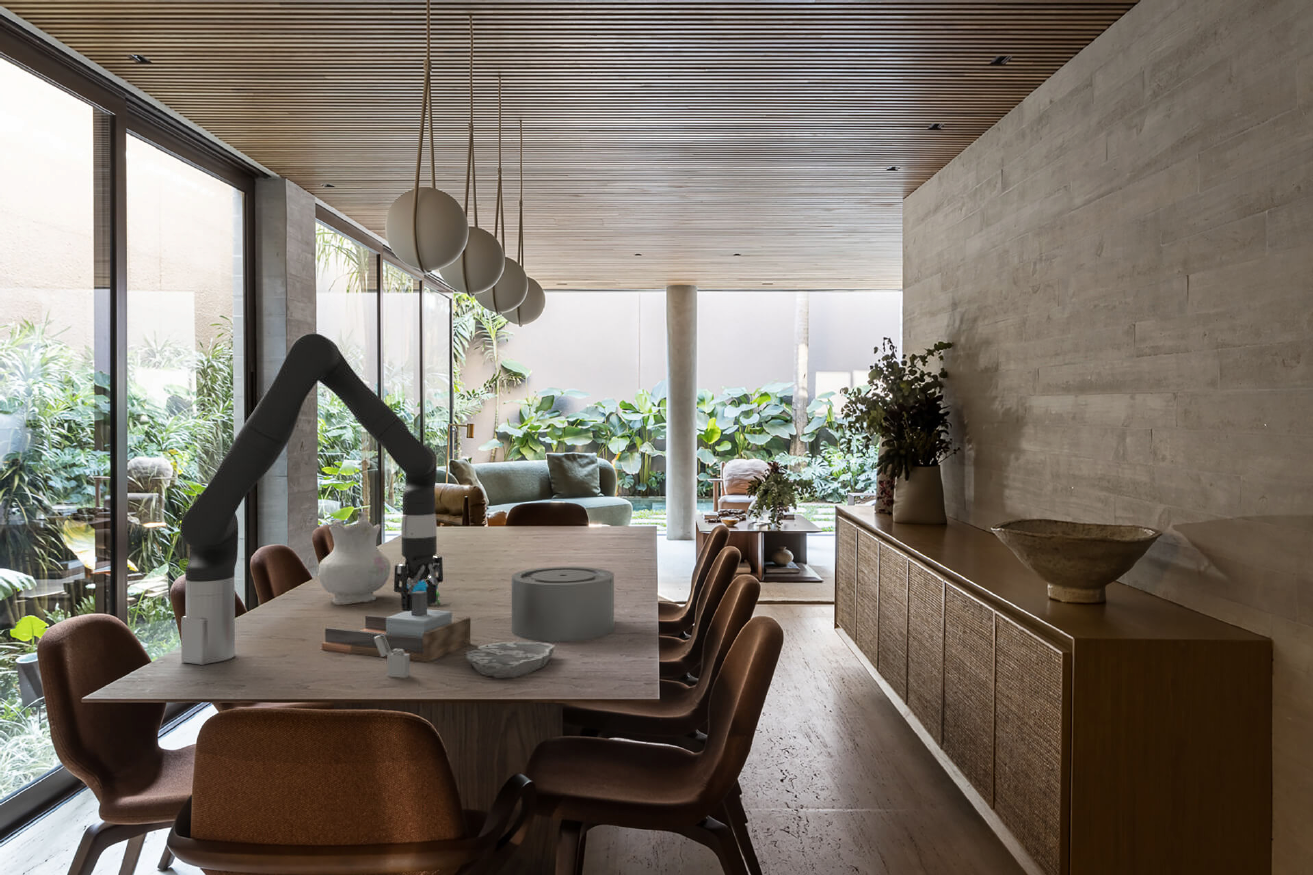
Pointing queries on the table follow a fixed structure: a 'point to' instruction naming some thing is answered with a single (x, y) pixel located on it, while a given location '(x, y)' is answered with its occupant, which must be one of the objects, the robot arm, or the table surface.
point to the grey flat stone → (510, 658)
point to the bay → (399, 639)
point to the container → (562, 603)
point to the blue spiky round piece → (424, 588)
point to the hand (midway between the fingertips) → (419, 606)
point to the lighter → (393, 658)
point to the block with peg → (417, 618)
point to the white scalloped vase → (354, 563)
